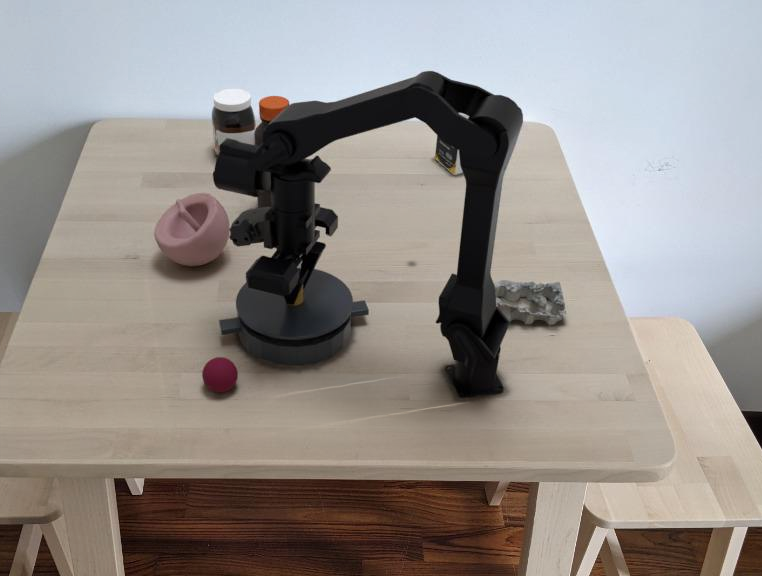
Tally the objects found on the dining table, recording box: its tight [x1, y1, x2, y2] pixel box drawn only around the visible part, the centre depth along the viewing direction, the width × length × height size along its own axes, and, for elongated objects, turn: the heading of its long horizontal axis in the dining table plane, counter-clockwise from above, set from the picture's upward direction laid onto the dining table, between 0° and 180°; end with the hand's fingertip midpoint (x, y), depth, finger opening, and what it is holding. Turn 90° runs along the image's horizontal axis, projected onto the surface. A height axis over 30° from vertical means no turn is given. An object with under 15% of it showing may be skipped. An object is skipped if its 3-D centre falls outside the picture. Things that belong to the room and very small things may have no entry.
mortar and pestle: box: [153, 192, 231, 267], centre depth 145 cm, size 12×12×12 cm
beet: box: [201, 356, 239, 393], centre depth 124 cm, size 5×5×5 cm
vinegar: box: [254, 95, 290, 208], centre depth 153 cm, size 7×7×20 cm
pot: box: [218, 300, 370, 367], centre depth 133 cm, size 16×22×4 cm
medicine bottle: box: [434, 112, 469, 176], centre depth 168 cm, size 7×7×12 cm
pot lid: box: [235, 268, 354, 341], centre depth 129 cm, size 17×17×6 cm
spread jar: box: [211, 88, 257, 158], centre depth 171 cm, size 12×11×12 cm
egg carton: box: [494, 279, 567, 326], centre depth 136 cm, size 11×8×4 cm
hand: (294, 297), depth 130 cm, fingers closed on pot lid, 3 cm apart
